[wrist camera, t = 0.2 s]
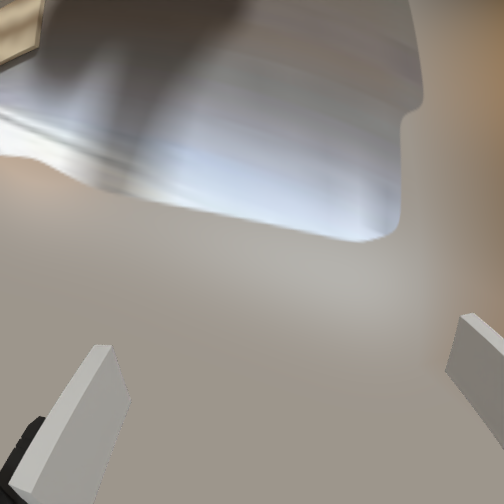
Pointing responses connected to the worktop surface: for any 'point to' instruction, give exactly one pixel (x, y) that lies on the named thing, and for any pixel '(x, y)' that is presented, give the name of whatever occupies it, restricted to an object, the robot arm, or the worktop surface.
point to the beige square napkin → (20, 28)
